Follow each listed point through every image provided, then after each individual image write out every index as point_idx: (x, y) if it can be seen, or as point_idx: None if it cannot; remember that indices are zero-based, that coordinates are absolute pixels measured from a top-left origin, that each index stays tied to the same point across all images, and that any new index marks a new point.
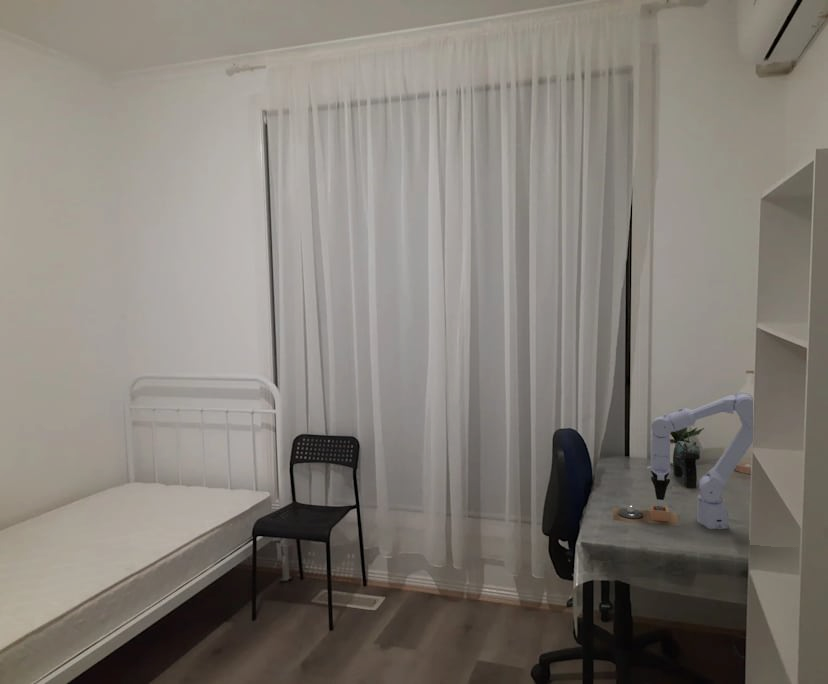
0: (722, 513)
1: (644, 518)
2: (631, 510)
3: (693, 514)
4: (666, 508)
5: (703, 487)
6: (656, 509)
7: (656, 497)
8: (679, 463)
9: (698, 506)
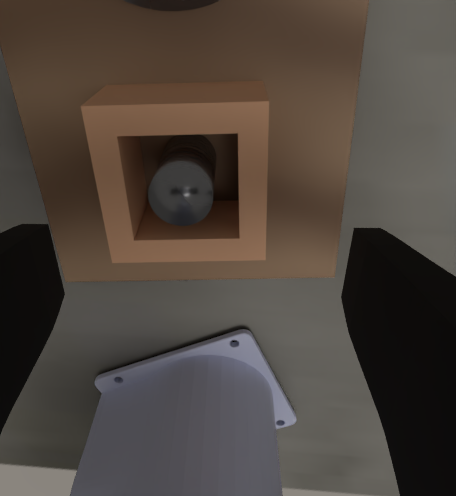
0: None
1: (113, 22)
2: None
3: None
4: (205, 247)
5: None
6: (168, 160)
7: (2, 233)
8: None
9: (173, 465)
